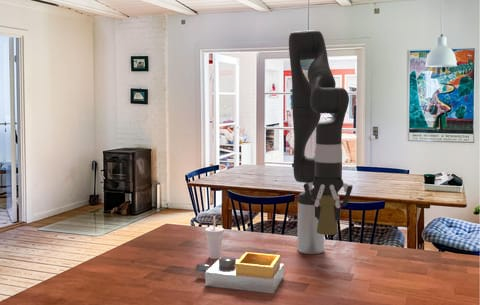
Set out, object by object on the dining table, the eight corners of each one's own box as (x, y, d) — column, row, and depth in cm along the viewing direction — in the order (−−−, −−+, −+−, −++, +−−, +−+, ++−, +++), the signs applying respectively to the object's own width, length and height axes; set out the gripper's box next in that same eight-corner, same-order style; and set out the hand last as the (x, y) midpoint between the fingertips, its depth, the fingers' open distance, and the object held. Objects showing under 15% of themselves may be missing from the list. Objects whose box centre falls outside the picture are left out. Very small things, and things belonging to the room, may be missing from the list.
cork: (312, 232, 137) (312, 194, 136) (324, 227, 142) (324, 190, 140) (330, 236, 133) (331, 197, 132) (342, 231, 138) (343, 193, 136)
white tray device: (205, 268, 153) (205, 247, 152) (283, 276, 145) (283, 254, 145) (189, 283, 140) (188, 260, 139) (273, 293, 133) (273, 268, 132)
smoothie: (224, 253, 167) (223, 214, 166) (224, 259, 161) (223, 218, 159) (205, 254, 167) (205, 214, 165) (204, 260, 161) (204, 218, 159)
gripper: (355, 158, 137) (354, 218, 139) (304, 157, 141) (304, 215, 143) (353, 162, 129) (352, 224, 131) (300, 160, 133) (300, 221, 135)
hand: (327, 219), depth 137 cm, fingers closed on cork, 4 cm apart
